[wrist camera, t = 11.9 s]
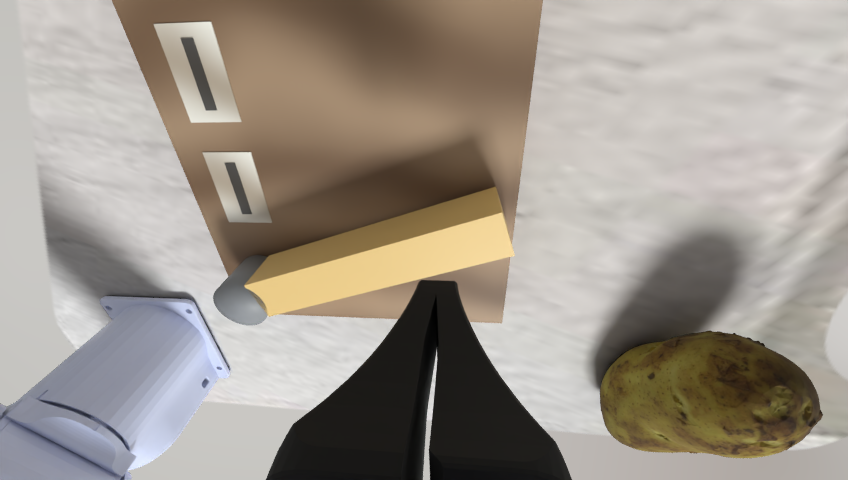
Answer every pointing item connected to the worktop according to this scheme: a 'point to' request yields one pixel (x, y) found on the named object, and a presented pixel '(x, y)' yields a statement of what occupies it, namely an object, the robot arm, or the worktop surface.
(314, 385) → the worktop surface
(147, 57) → the label board
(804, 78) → the worktop surface
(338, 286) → the swing bar
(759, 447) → the potato
